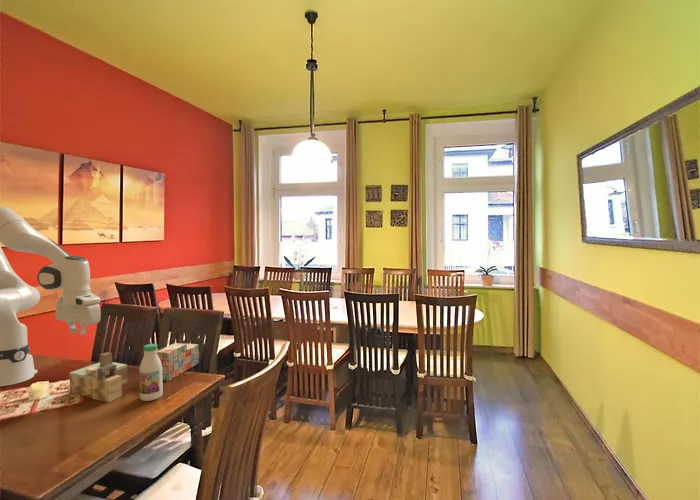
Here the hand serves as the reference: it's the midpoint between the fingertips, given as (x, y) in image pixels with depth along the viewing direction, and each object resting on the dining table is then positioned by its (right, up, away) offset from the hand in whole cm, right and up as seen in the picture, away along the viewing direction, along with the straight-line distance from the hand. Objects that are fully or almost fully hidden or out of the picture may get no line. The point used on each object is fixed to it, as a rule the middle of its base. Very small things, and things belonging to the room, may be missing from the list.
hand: (78, 333), depth 142 cm
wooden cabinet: (+9, -23, +3) cm, 25 cm away
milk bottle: (+30, -24, -3) cm, 38 cm away
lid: (+5, -16, +4) cm, 17 cm away
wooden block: (+9, -15, -3) cm, 18 cm away
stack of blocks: (+29, -22, +23) cm, 43 cm away
